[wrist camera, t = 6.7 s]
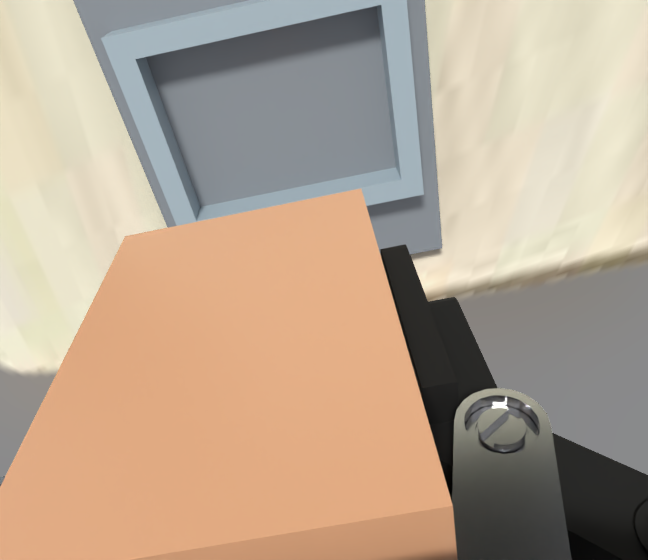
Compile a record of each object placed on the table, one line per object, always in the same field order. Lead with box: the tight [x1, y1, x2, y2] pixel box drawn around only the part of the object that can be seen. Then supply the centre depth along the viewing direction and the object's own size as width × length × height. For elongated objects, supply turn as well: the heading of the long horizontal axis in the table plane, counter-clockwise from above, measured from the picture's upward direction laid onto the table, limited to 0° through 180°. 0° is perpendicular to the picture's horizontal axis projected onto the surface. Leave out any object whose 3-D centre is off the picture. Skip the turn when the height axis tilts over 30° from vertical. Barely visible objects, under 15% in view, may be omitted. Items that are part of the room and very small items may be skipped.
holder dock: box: [73, 0, 442, 255], centre depth 24 cm, size 14×18×2 cm
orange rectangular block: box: [0, 189, 457, 560], centre depth 9 cm, size 5×5×7 cm
